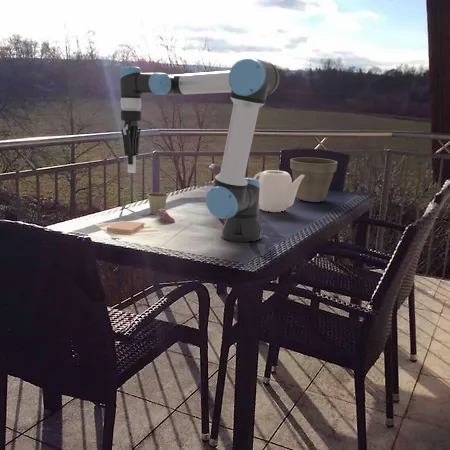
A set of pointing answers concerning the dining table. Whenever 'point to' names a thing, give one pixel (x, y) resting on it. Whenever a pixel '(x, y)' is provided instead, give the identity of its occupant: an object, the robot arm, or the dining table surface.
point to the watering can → (277, 190)
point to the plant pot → (313, 176)
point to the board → (142, 231)
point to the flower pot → (157, 202)
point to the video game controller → (165, 216)
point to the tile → (125, 227)
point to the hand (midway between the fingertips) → (131, 172)
